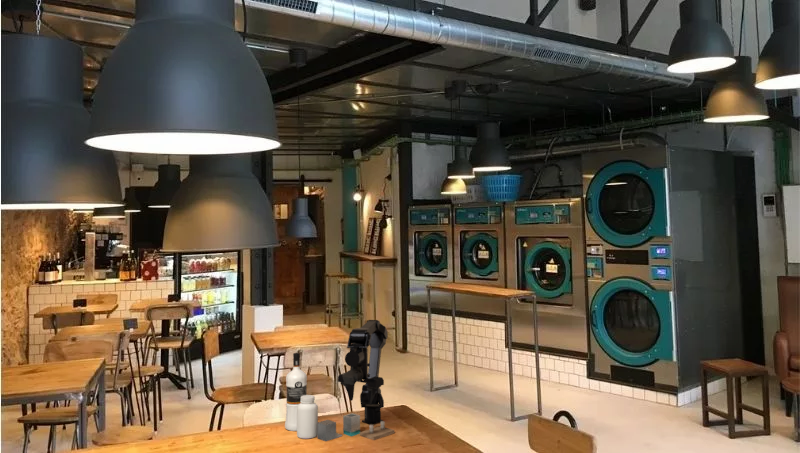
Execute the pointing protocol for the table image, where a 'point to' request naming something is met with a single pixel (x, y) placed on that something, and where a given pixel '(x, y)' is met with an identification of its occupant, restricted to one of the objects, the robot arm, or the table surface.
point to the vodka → (294, 392)
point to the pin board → (377, 432)
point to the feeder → (327, 430)
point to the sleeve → (351, 424)
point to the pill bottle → (307, 417)
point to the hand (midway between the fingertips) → (360, 402)
